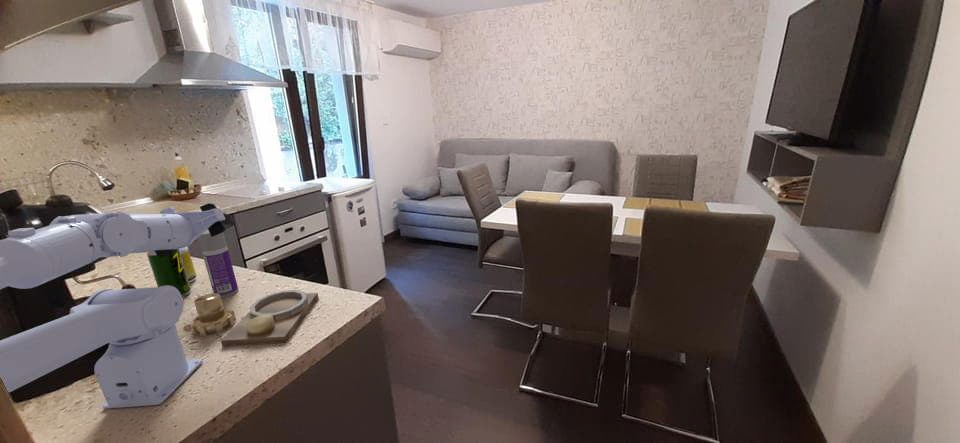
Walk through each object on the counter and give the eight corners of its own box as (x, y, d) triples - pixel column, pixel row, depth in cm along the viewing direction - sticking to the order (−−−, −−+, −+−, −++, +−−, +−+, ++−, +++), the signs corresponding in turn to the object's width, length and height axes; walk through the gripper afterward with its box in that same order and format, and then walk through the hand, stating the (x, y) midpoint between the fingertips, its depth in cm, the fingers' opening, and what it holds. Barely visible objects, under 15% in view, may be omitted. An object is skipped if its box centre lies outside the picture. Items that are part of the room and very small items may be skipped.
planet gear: (222, 335, 68) (214, 306, 67) (184, 337, 68) (175, 309, 66) (242, 315, 75) (236, 288, 73) (208, 317, 75) (200, 290, 73)
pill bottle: (201, 280, 91) (188, 236, 88) (170, 291, 86) (154, 244, 83) (190, 274, 95) (177, 231, 91) (159, 284, 90) (144, 239, 86)
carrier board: (285, 342, 66) (282, 329, 65) (222, 346, 65) (218, 333, 64) (318, 297, 81) (316, 286, 80) (267, 300, 80) (264, 289, 79)
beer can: (160, 303, 81) (143, 253, 77) (162, 294, 85) (146, 245, 81) (191, 296, 84) (176, 246, 80) (191, 287, 88) (177, 240, 84)
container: (243, 287, 87) (227, 227, 82) (228, 297, 82) (211, 234, 78) (224, 287, 87) (208, 227, 82) (209, 297, 83) (190, 234, 78)
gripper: (186, 190, 57) (238, 194, 71) (97, 226, 57) (166, 224, 70) (206, 231, 58) (254, 228, 71) (116, 268, 57) (182, 258, 71)
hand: (211, 228), depth 71 cm, fingers open, 7 cm apart
